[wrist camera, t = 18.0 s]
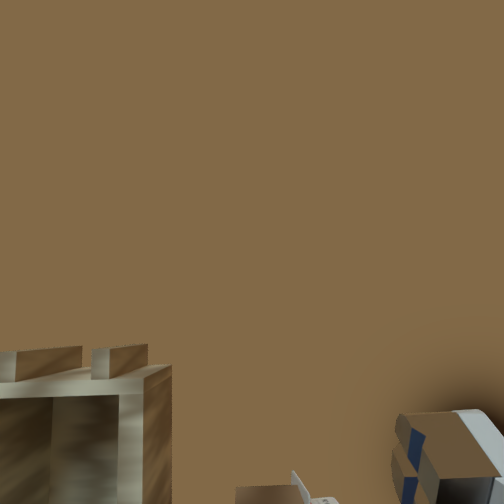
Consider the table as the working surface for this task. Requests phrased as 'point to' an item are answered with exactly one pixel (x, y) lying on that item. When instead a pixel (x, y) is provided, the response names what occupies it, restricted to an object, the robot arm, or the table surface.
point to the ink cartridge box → (315, 503)
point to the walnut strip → (269, 495)
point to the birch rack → (85, 427)
